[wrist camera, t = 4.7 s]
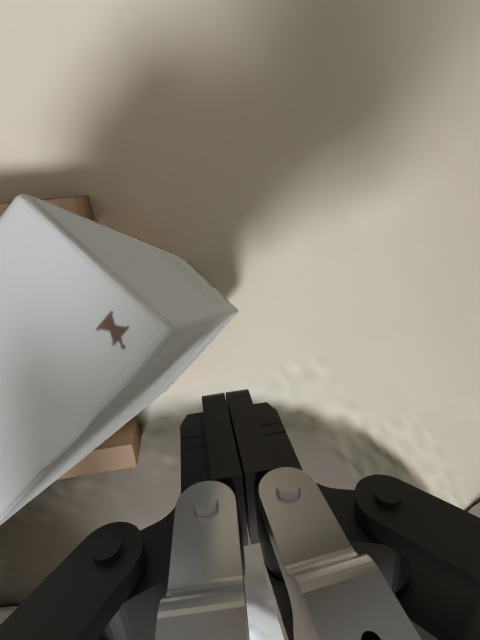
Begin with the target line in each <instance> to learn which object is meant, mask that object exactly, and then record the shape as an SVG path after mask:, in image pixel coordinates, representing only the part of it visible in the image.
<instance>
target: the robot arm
mask: <svg viewBox="0 0 480 640" xmlns="http://www.w3.org/2000/svg"><path fill="white" fill-rule="evenodd" d="M202 403H203V412H202V413H195V414H189V415H187V416H186V417H185V419H184V421H183V423H182V424H181V426H180V436H181V495H180V497H179V498H178V500H177V503H176V506H175V508H174V509H173V510H172V511H171V513H169V514H168V515H167V516H166V517H165V518H163V519H162V520H160V521H159V522H157V523H155V524H153V525H151V526H149V527H147V528H145V529H143V530H141V531H140V530H139V529H138V528H137V527H136V526H134V525H133V524H130V523H127V522H114V523H110V524H107V525H104V526H102V527H100V528H98V529H97V530H95V531H94V532H92V533H91V534H90V535H89V536H87V537H86V538H85V539H84V540H83V541H82V542H81V543H80V544H79V545H78V546H77V547H76V548H75V549H74V550H73V551H72V552H71V553H70V555H69V556H68V557H67V558H66V559H65V560H64V561H63V562H62V563H61V564H60V565H59V566H58V567H57V568H56V569H55V570H54V571H53V572H52V573H51V574H50V575H49V576H48V577H47V578H46V579H45V580H44V581H43V582H42V583H41V584H40V585H39V586H38V587H37V588H36V589H35V590H34V591H33V592H32V593H31V594H30V595H29V596H28V597H27V598H26V599H25V600H24V601H23V602H22V603H21V604H20V605H19V606H18V607H17V608H16V609H15V610H14V611H13V612H12V613H11V614H10V615H9V616H8V617H7V618H6V619H5V620H4V621H3V622H2V623H1V624H0V640H250V639H249V628H248V617H247V607H246V596H245V585H244V575H245V558H244V548H243V546H246V545H248V534H247V527H248V532H249V537H250V542H251V544H255V543H260V545H261V549H262V553H263V558H264V572H265V576H266V580H267V583H268V586H269V590H270V593H271V596H272V600H273V603H274V606H275V610H276V613H277V616H278V620H279V623H280V626H281V630H282V633H283V636H284V640H480V502H479V503H478V504H476V505H475V506H473V507H472V508H471V509H470V510H469V511H468V512H466V511H464V510H462V509H460V508H458V507H456V506H454V505H452V504H450V503H447V502H445V501H443V500H441V499H439V498H437V497H435V496H433V495H431V494H429V493H427V492H424V491H422V490H420V489H418V488H416V487H414V486H412V485H410V484H408V483H406V482H403V481H401V480H399V479H397V478H394V477H391V476H387V475H371V476H367V477H365V478H363V479H362V480H360V481H359V482H358V484H357V485H356V488H355V490H344V489H334V488H329V487H325V486H322V485H320V484H318V483H316V482H315V481H314V479H313V478H312V477H311V476H310V475H309V474H308V473H306V472H304V471H303V470H302V468H301V465H300V463H299V461H298V458H297V456H296V454H295V452H294V449H293V447H292V445H291V442H290V440H289V438H288V435H287V433H286V431H285V428H284V426H283V424H282V421H281V419H280V417H279V415H278V412H277V410H275V409H274V408H273V407H272V406H270V405H269V404H268V403H267V402H265V403H258V404H253V402H252V399H251V396H250V393H249V391H248V389H246V390H240V391H233V392H226V399H225V395H224V393H220V394H214V395H207V396H202ZM246 522H247V523H246Z"/></svg>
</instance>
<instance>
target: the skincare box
mask: <svg viewBox="0 0 480 640" xmlns="http://www.w3.org/2000/svg"><path fill="white" fill-rule="evenodd" d="M237 313H238V309H237V308H236V307H234V306H233V305H232V304H231V303H230V302H229V301H228V300H227V299H226V298H225V297H224V296H223V295H222V294H221V293H220V292H219V291H218V290H216V289H215V288H214V287H213V286H212V285H211V284H210V283H209V282H208V281H206V280H205V279H204V278H203V277H202V276H201V275H200V274H199V273H198V272H197V271H195V270H194V269H193V268H192V267H191V266H190V265H189V264H188V263H187V262H186V261H185V260H184V259H182V258H181V257H179V256H176V255H174V254H171V253H169V252H167V251H164V250H162V249H159V248H157V247H155V246H152V245H150V244H147V243H145V242H142V241H140V240H138V239H135V238H133V237H130V236H128V235H125V234H123V233H120V232H118V231H115V230H113V229H111V228H109V227H106V226H103V225H101V224H99V223H96V222H94V221H91V220H89V219H87V218H84V217H81V216H79V215H76V214H74V213H71V212H69V211H67V210H64V209H62V208H60V207H58V206H55V205H53V204H50V203H48V202H46V201H43V200H41V199H38V198H36V197H33V196H30V195H27V194H20V195H18V196H16V197H15V198H14V200H13V201H12V203H11V204H10V205H9V207H8V208H7V209H6V211H5V212H4V213H3V215H2V216H1V217H0V525H1V524H3V523H4V522H5V521H6V520H8V519H9V518H10V517H11V516H12V515H14V514H15V513H16V512H17V511H18V510H20V509H21V508H22V507H23V506H25V505H26V504H27V503H28V502H29V501H31V500H32V499H33V498H35V497H36V496H37V495H38V494H40V493H41V492H42V491H43V490H44V489H46V488H47V487H48V486H49V485H51V484H52V483H53V482H54V481H56V480H57V479H58V478H59V477H61V476H62V475H63V474H65V473H66V472H67V471H68V470H70V469H71V468H72V467H73V466H75V465H76V464H77V463H78V462H79V461H81V460H82V459H83V458H84V457H86V456H87V455H88V454H89V453H90V452H92V451H93V450H94V449H95V448H96V447H98V446H99V445H100V444H101V443H103V442H104V441H105V440H106V439H108V438H109V437H110V436H111V435H113V434H114V433H115V432H116V431H117V430H119V429H120V428H121V427H122V426H123V425H125V424H126V423H127V422H128V421H129V420H131V419H132V418H133V417H134V416H136V415H137V414H138V413H139V412H141V411H142V410H143V409H144V408H145V407H147V406H148V405H149V404H150V403H152V402H153V401H154V400H155V399H157V398H158V397H159V396H160V395H162V394H163V393H164V392H165V391H166V390H167V389H168V388H169V387H170V386H171V385H172V384H173V383H174V382H175V381H176V380H177V379H178V378H179V377H180V375H181V374H182V373H183V372H184V371H185V370H186V369H187V368H188V367H189V366H190V365H191V364H192V362H193V361H194V360H195V359H196V358H197V357H198V356H199V355H200V354H201V353H202V352H203V350H204V349H205V348H206V347H207V346H208V345H209V344H210V343H211V342H212V340H213V339H214V338H215V337H216V336H217V335H218V334H219V333H220V332H221V330H222V329H223V328H224V327H225V326H226V325H227V324H228V323H229V322H230V321H231V319H232V318H233V317H234V316H235V315H236V314H237Z"/></svg>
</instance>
